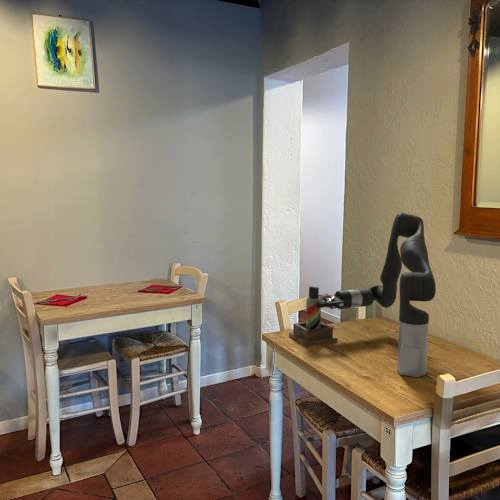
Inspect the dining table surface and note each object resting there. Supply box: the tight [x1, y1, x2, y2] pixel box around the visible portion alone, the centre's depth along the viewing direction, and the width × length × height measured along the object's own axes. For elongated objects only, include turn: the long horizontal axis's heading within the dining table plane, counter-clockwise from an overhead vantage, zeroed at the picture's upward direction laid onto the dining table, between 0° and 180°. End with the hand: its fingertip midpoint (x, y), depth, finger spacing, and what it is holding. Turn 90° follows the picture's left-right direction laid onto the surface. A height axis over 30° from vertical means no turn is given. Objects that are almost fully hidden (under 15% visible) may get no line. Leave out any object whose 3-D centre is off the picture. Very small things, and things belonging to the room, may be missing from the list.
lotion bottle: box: [305, 285, 322, 330], centre depth 193 cm, size 6×6×20 cm
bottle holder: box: [288, 321, 338, 348], centre depth 194 cm, size 14×14×6 cm
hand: (312, 302), depth 192 cm, fingers open, 8 cm apart
